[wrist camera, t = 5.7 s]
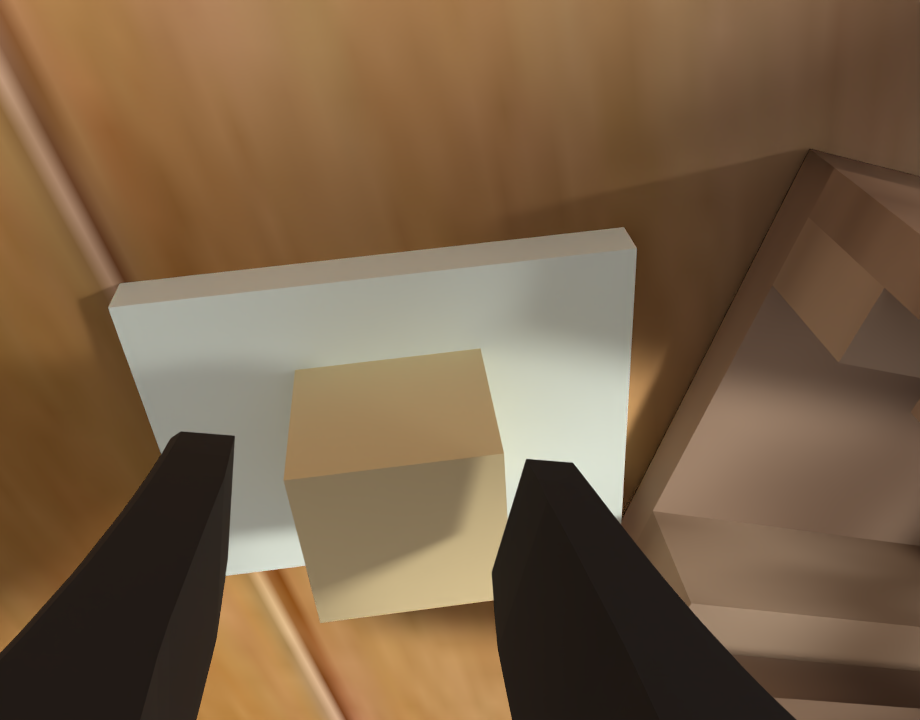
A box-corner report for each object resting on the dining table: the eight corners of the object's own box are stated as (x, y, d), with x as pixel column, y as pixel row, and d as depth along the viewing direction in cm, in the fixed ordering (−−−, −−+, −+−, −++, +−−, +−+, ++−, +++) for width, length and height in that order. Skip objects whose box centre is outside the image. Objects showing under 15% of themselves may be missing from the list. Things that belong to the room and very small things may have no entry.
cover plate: (617, 215, 14) (694, 341, 11) (606, 482, 17) (661, 636, 14) (126, 269, 13) (56, 416, 10) (214, 531, 17) (183, 701, 14)
